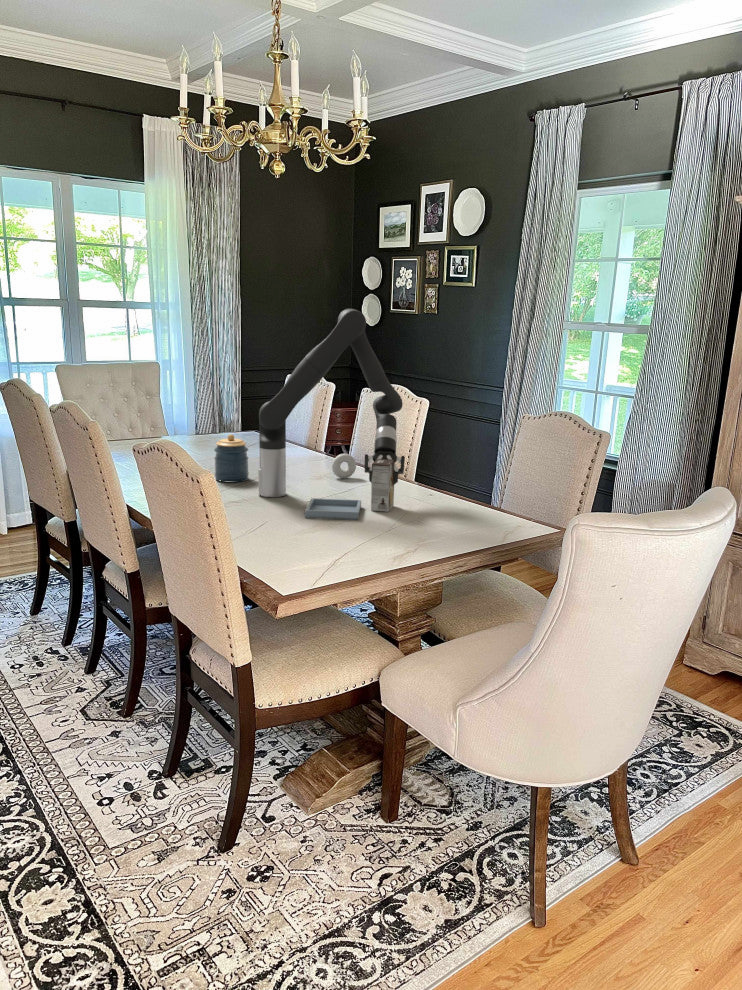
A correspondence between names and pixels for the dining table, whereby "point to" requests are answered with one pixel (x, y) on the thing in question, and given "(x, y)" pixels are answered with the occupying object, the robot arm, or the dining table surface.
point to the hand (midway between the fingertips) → (383, 482)
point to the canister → (231, 460)
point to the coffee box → (382, 485)
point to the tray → (333, 509)
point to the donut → (339, 461)
